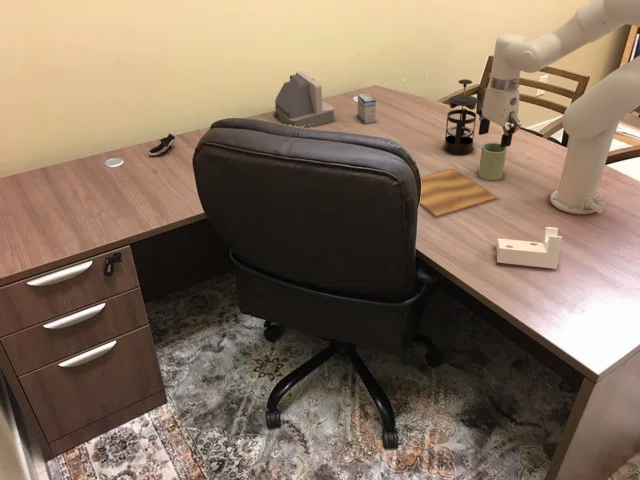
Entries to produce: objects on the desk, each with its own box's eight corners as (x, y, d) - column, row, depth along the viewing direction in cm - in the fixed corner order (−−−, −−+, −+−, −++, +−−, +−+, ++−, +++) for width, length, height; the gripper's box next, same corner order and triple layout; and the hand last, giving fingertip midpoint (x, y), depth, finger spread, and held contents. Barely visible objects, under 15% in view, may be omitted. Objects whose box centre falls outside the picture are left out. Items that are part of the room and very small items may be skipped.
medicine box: (357, 116, 205) (357, 94, 200) (368, 114, 206) (368, 92, 201) (364, 124, 199) (364, 101, 194) (376, 122, 200) (376, 99, 195)
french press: (470, 157, 172) (479, 87, 159) (441, 154, 175) (447, 85, 162) (474, 142, 181) (483, 75, 168) (446, 139, 184) (452, 73, 171)
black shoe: (157, 163, 185) (167, 150, 181) (146, 154, 183) (157, 141, 180) (169, 149, 193) (179, 137, 190) (159, 141, 192) (169, 128, 188)
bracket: (552, 257, 128) (557, 227, 126) (556, 268, 122) (562, 237, 119) (495, 251, 131) (499, 222, 129) (497, 262, 125) (501, 231, 122)
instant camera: (337, 123, 200) (336, 84, 192) (283, 132, 196) (279, 92, 188) (322, 104, 217) (320, 67, 209) (272, 112, 213) (268, 74, 205)
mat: (495, 199, 150) (495, 197, 150) (436, 217, 144) (436, 215, 144) (452, 170, 166) (452, 168, 165) (397, 185, 159) (397, 184, 159)
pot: (507, 177, 160) (512, 149, 155) (488, 182, 158) (492, 154, 153) (492, 167, 166) (496, 140, 161) (473, 173, 164) (477, 145, 158)
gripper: (537, 89, 141) (524, 148, 151) (494, 71, 154) (485, 126, 164) (514, 94, 138) (503, 154, 148) (472, 75, 151) (465, 131, 161)
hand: (494, 140), depth 156 cm, fingers open, 9 cm apart
